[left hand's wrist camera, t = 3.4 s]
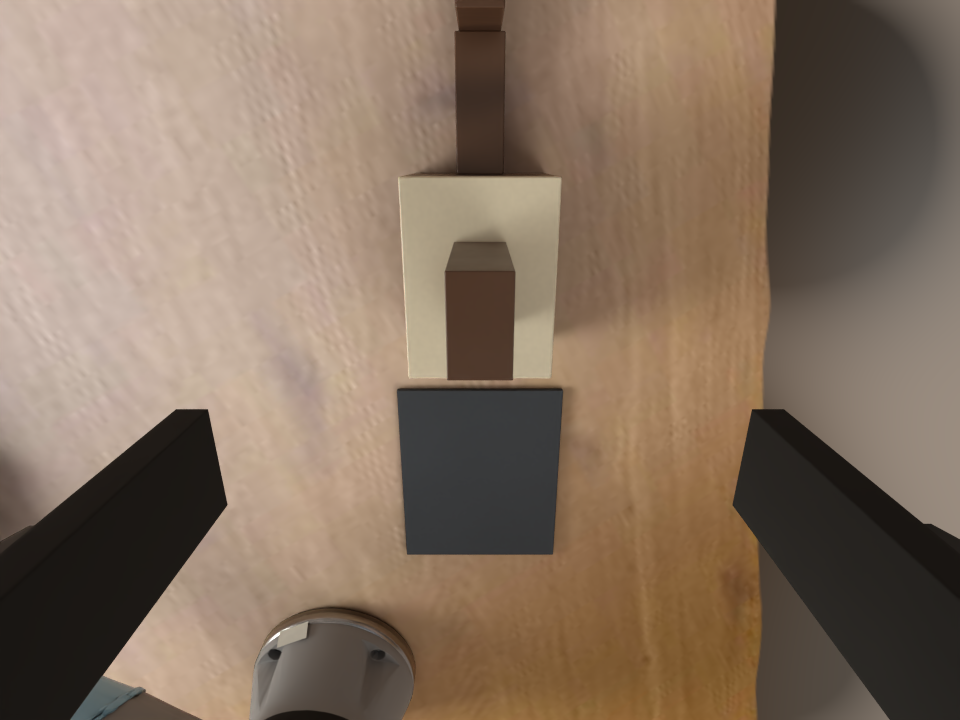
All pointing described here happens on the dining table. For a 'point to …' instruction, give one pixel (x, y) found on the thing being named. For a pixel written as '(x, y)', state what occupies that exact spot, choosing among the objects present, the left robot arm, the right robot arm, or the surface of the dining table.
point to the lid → (480, 275)
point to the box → (480, 89)
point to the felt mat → (480, 469)
